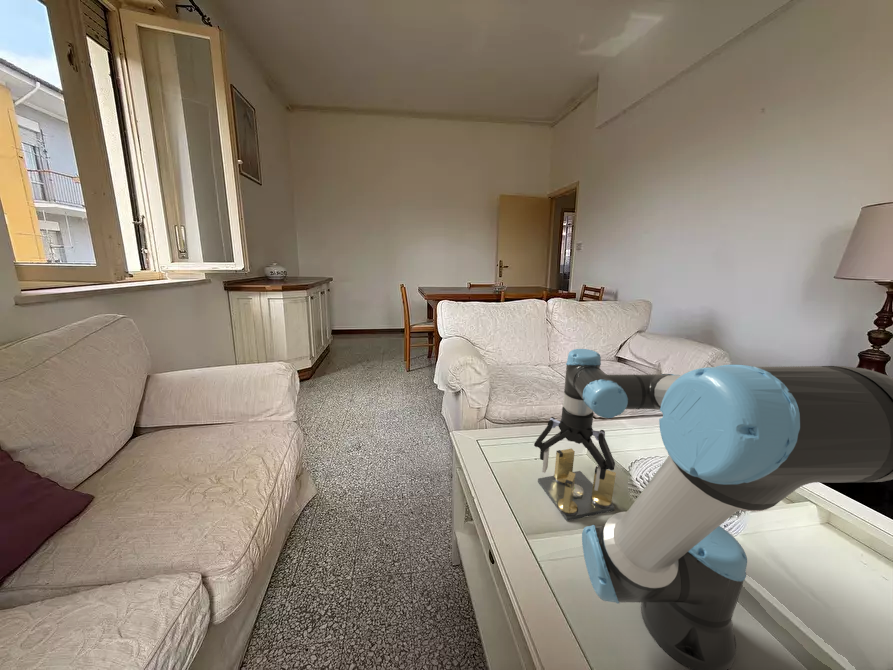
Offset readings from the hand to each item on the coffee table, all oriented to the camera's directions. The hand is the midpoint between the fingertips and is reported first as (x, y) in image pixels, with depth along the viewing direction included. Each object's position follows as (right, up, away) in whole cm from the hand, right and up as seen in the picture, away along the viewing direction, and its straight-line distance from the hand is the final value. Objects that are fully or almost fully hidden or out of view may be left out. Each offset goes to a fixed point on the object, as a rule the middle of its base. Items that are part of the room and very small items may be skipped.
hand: (569, 478), depth 93 cm
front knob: (0, -9, +2) cm, 9 cm away
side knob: (+11, -8, +5) cm, 14 cm away
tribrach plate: (+4, -9, +8) cm, 13 cm away
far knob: (+3, -5, +14) cm, 15 cm away
